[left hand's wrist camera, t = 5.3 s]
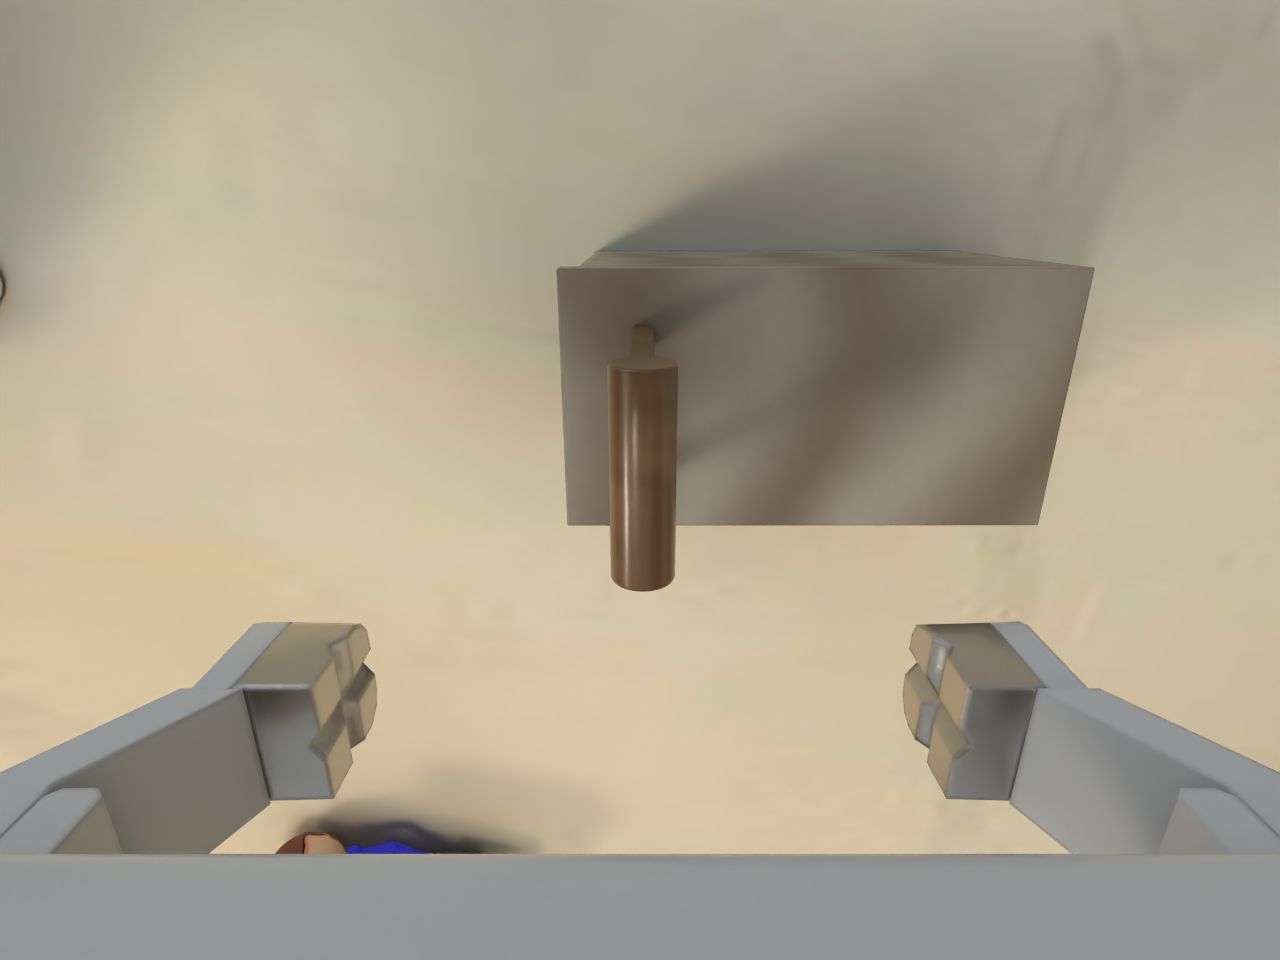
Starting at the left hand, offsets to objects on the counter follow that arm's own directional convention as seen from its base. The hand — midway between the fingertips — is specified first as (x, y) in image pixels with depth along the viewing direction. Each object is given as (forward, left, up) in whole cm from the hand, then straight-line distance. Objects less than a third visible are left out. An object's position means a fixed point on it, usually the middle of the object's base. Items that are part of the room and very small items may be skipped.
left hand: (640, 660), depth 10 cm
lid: (+3, -5, -16) cm, 17 cm away
